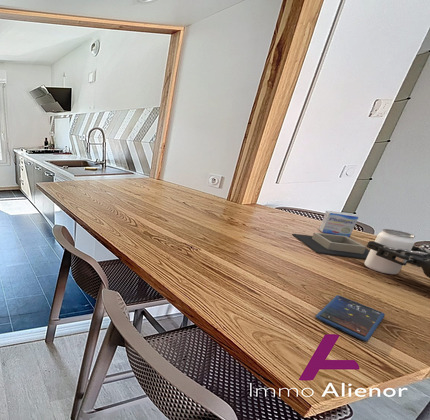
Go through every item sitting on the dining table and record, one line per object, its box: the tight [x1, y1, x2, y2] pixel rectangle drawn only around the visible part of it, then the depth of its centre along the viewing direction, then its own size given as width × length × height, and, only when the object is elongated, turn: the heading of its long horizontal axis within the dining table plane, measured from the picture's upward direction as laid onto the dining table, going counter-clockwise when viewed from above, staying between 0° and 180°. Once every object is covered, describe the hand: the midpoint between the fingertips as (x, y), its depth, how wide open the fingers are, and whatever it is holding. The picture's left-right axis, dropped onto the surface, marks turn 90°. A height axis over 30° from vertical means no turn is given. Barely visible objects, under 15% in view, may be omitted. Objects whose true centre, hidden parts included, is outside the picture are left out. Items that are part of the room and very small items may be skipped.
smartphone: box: [315, 294, 386, 342], centre depth 54 cm, size 8×1×15 cm
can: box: [363, 228, 416, 276], centre depth 72 cm, size 6×6×12 cm
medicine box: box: [318, 210, 359, 238], centre depth 97 cm, size 8×4×9 cm, turn 55°
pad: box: [291, 232, 371, 261], centre depth 86 cm, size 18×16×3 cm
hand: (384, 244), depth 73 cm, fingers open, 8 cm apart
